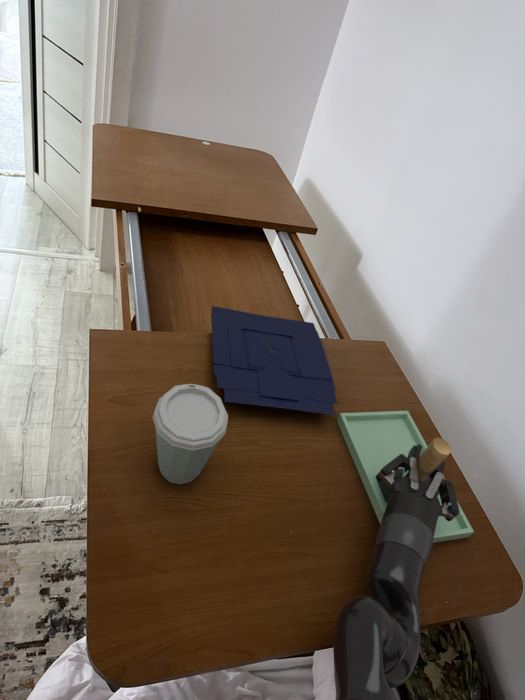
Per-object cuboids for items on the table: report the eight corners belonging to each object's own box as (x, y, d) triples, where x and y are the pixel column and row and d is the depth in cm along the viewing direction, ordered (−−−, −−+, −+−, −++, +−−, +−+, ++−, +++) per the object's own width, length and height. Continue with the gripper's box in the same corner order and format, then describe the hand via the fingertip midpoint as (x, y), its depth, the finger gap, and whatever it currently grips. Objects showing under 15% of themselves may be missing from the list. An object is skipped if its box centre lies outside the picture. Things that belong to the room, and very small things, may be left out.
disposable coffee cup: (212, 498, 78) (235, 442, 68) (141, 497, 75) (154, 439, 65) (208, 440, 85) (227, 382, 75) (143, 438, 82) (154, 377, 72)
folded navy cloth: (211, 411, 88) (215, 396, 86) (208, 315, 112) (211, 302, 110) (339, 426, 94) (346, 412, 92) (310, 332, 118) (315, 319, 115)
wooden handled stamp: (434, 499, 89) (474, 458, 80) (385, 502, 86) (422, 460, 77) (422, 474, 92) (460, 432, 84) (375, 476, 89) (409, 433, 80)
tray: (467, 537, 86) (474, 531, 84) (390, 549, 80) (396, 543, 79) (403, 416, 103) (408, 410, 101) (335, 419, 97) (340, 412, 95)
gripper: (353, 519, 77) (381, 444, 90) (437, 570, 75) (454, 486, 88) (373, 494, 72) (400, 419, 85) (464, 548, 70) (478, 462, 83)
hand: (428, 453), depth 86 cm, fingers closed on wooden handled stamp, 3 cm apart
